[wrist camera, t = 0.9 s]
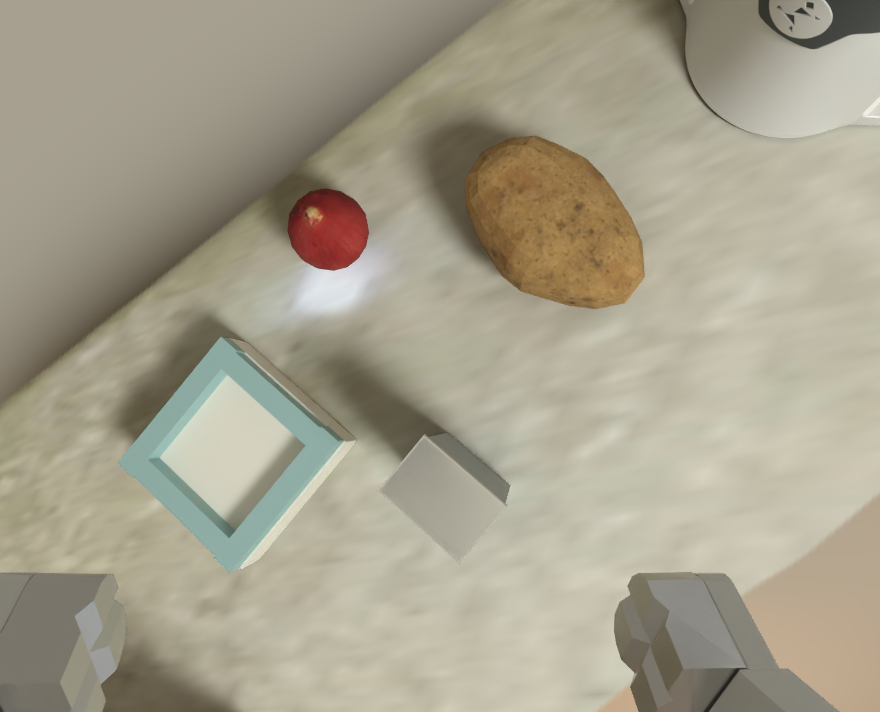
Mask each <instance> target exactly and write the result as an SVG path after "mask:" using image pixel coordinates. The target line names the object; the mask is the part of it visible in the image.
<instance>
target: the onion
mask: <svg viewBox="0 0 880 712" xmlns="http://www.w3.org/2000/svg"><path fill="white" fill-rule="evenodd" d="M288 234H289V237H290V241H291V244H292V247H293V249H294V250H295V251H296V252H297V254H298V255H299V256H300V258H301V259H302V260H304V261H305V262H307V263H309V264H310V265H312V266H314V267H316V268H319V269H325V270H333V271H334V270H338V269H342V268H346V267H348V266H349V265H350V264H352V263H353V262H354V261H356V260H357V259H358V258H359V257H360V255H361V253H362V252H363V250H364V249H365V247H366V244H367V239H368V235H369V230H368V224H367V219H366V214H365V212H364V211H363V210H362V208H361V207H360V206H359V204H358V203H357V202H356V201H355V200H354V199H353V198H351V197H349V196H348V195H346V194H344V193H342V192H341V191H336V190H331V189H320V190H315V191H310V192H309V193H307V194H306V195H305V196H303V197H302V198H301V199H299V200H298V201H297V203H296V204H295V206H294V207H293V209H292V211H291V212H290V214H289V221H288Z"/></svg>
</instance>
